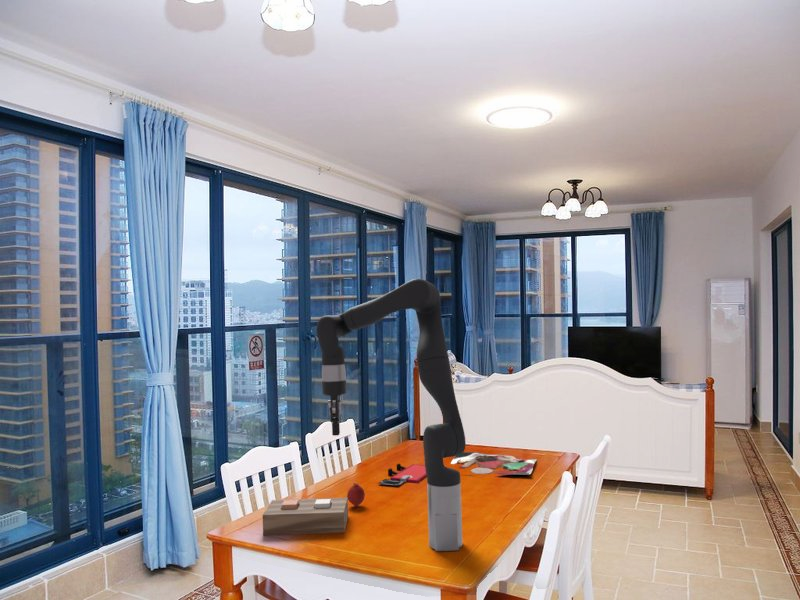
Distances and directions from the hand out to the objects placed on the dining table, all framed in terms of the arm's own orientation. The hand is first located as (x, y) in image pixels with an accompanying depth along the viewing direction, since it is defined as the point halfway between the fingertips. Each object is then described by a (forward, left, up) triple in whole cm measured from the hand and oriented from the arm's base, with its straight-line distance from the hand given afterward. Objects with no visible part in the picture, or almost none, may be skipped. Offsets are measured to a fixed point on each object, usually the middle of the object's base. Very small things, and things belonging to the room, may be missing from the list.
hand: (336, 435), depth 190 cm
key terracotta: (-2, +14, -24) cm, 28 cm away
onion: (+15, -5, -27) cm, 31 cm away
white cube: (-2, +4, -24) cm, 24 cm away
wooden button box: (-2, +9, -27) cm, 29 cm away
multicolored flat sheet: (+63, -58, -28) cm, 90 cm away
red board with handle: (+50, -22, -28) cm, 61 cm away
